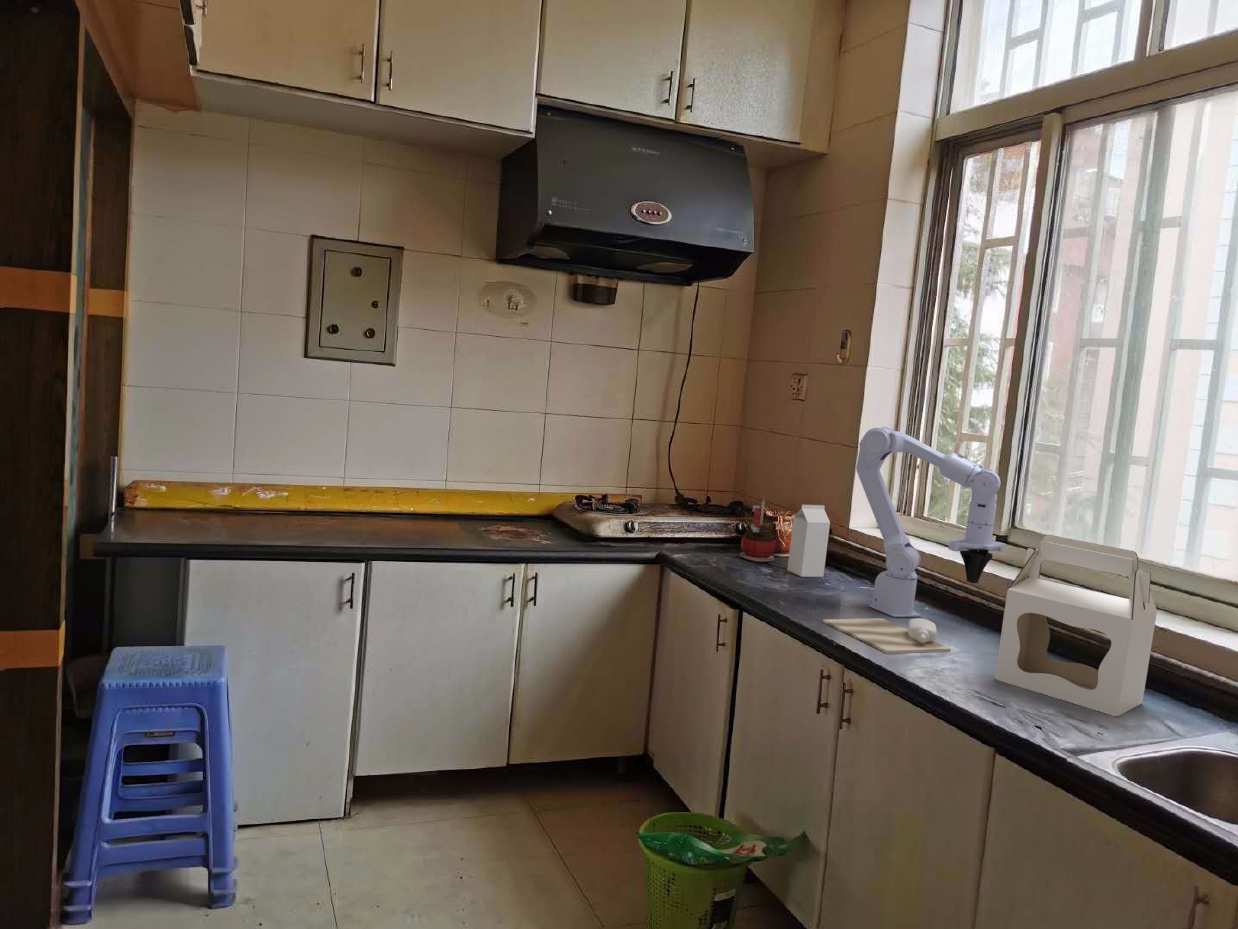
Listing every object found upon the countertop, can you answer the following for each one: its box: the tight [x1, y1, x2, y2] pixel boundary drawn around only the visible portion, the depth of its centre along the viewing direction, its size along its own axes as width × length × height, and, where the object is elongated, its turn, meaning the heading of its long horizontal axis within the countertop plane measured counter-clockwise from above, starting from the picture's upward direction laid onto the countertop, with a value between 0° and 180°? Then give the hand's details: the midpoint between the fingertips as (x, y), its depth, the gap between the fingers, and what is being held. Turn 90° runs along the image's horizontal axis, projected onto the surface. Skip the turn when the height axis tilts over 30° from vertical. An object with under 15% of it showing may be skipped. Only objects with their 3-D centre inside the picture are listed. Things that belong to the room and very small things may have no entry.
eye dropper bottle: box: [907, 617, 938, 643], centre depth 201 cm, size 4×6×12 cm
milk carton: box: [786, 504, 831, 578], centre depth 259 cm, size 7×7×19 cm
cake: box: [739, 497, 777, 563], centre depth 273 cm, size 11×9×18 cm
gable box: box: [994, 534, 1158, 718], centre depth 176 cm, size 22×13×28 cm, turn 44°
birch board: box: [822, 617, 952, 655], centre depth 203 cm, size 22×16×1 cm
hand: (972, 582), depth 218 cm, fingers closed
